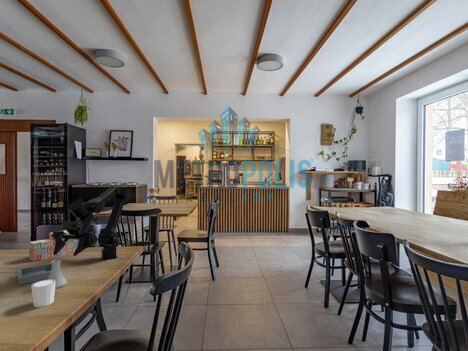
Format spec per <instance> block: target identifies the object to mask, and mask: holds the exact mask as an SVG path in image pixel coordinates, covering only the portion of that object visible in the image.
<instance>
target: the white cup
mask: <svg viewBox="0 0 468 351" xmlns="http://www.w3.org/2000/svg"><path fill="white" fill-rule="evenodd" d="M55 283H56V281H55V280H52V279H49V280H42V281H38V282H34V283H31V294H32V303H33V307H35V308H43V307H46V306H49V305H51V304H53V303H54V301H55V291H56V289H55Z"/></svg>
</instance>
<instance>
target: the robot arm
mask: <svg viewBox="0 0 468 351" xmlns="http://www.w3.org/2000/svg"><path fill="white" fill-rule="evenodd" d="M131 196H132V195H131V192H130V191H129V189H125V188H122V187H120V186H116V185H115V186H108V188H107V189H106V190H105V191H104V192H102V193H101V194H100V195H99V196H98V197H95V198H92V199H90V200H87V201H86V202H85V201H84V200H83V198H77V199H76V200H74V201H73V202H71V203H69V204H68V207H67V208H68V210H69V211H70V212H71V214H72V215H73V216H74V217H75V218H78V219H76V220H74V221H73V220H64V221H63V222H62V225H61V229H62V230H55V231H53V232H52V233H53V234H52V235H51V236H52V237H53V238H54V239H55V248H54V253H53V254H54V255H56V254H57V253H58V252H59V251H60V250H61V249H62V248H63V247H64V246H65V244H66V243H65V242H67V241H68V239H78V241H79V242H78V246H77V248H76V250H75V252H74V253H73V254H72V255H73V257H77V255H79V254H80V253H81V252H83V251H84V250H86V249H87V248H89V247H91V246H93V245H96V244H97V243H98V246H99V247H100V248H101V247H102V248H101V252H100V254H101V255H100V256H101V259H103V260H104V261H107V260H113V259H117V258H118V256H117V247H119V246H120V242H121V241H120V239H119V238H118V237H117V236H118V233H117V230H116V229H117V226H118V224H119V220H120V217H121V215H122V212H123V209H124V206H125V204H127V203H128V202H129V200H130V198H131ZM111 199H113V201H114V203H113V206H112V209H111V212H110V215H109V217H108V221H107V223H106V226H105V227H104V228H100V231H99V233H98V237H97V235H96V234H95V233H94V232H92V231H90V229H91V228H90V226H91V225H92V223H93V222H97V217H96V215H94V214H100V213H102V211H103V210H104V208H105V205H106V204H107V203H108V202H109V201H111ZM65 230H67V232H68V233H69V234H66V233H65V232H64V231H65Z"/></svg>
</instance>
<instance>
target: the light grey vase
mask: <svg viewBox="0 0 468 351" xmlns="http://www.w3.org/2000/svg"><path fill="white" fill-rule="evenodd" d="M61 262H62V260H61V259H54V260H52V261H50V263H52V268H51V272H50V275H49V277H48V280H49V279H52V280H55V281H56V283H55V290H56V289H59V288H61V287H64V286H65V285H67V284H68V281H67V279H66V276H65V275H64V272H63V270H62V266H61Z"/></svg>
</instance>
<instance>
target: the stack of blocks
mask: <svg viewBox="0 0 468 351" xmlns="http://www.w3.org/2000/svg"><path fill="white" fill-rule="evenodd" d="M63 231H64V232H65V233H66V234H69V233H68V232H67V230H66V229H64V230H63ZM52 234H53V232H49V236H48V237H49V238H45V239H40V240H39V239H38V240H34V241H30V242H29V250H28V254H29V258H28V259H29V261H32V262H37V261H43V260H47V259H51V258H56V257H59V256H64V255H69V254H72V253H73V254H74V252H75V250H76V248H77V246H78V245H79V240H78V239H68V241H67V242H65V243H66V244H65V246H64V247H63V248H62V249H61V250H60V251H59V252H58V253H57V254H56V255H54V254H53V253H54V248H55V239H54V238H53V237H52V236H51V235H52Z"/></svg>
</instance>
